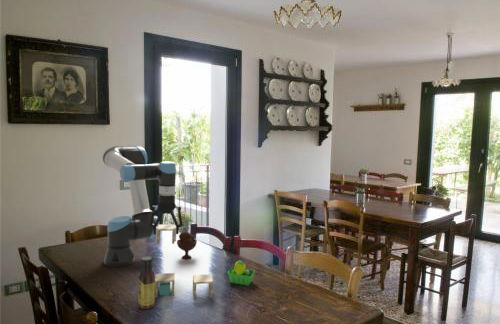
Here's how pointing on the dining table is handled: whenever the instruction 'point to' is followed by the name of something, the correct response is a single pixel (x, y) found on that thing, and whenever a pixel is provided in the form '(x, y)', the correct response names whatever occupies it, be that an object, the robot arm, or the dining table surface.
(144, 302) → the sauce bottle
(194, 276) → the cover
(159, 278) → the cover
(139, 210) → the robot arm
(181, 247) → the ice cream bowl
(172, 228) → the cover
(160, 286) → the teal cube
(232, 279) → the fruit basket
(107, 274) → the dining table surface
